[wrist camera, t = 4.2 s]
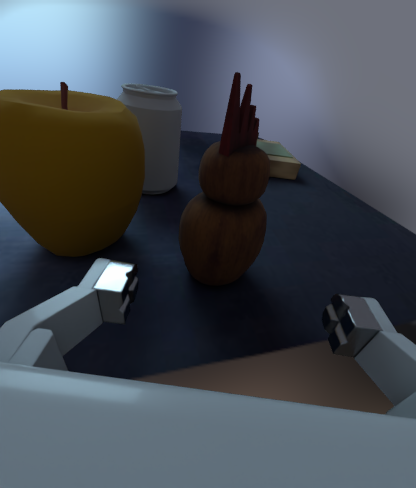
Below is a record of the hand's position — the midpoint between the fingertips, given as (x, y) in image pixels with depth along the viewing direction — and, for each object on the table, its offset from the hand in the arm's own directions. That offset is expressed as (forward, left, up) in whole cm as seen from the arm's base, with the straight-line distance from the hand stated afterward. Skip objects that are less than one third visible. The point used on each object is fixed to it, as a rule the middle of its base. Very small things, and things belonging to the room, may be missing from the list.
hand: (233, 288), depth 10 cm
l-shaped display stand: (-13, -43, -8) cm, 45 cm away
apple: (+11, -13, -8) cm, 19 cm away
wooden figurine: (-1, -10, -8) cm, 12 cm away
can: (+7, -27, -8) cm, 29 cm away
